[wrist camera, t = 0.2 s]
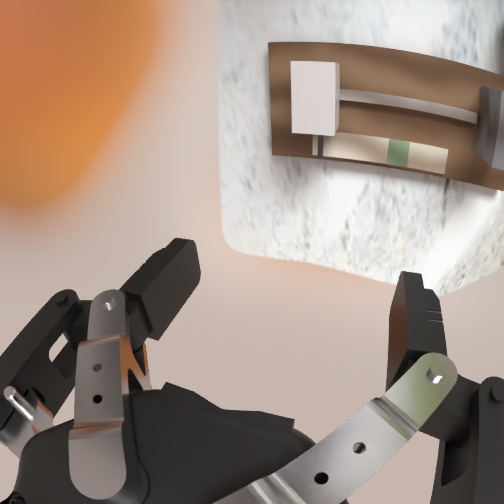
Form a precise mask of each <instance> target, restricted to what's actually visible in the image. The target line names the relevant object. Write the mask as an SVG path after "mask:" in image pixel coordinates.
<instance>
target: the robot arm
mask: <svg viewBox="0 0 504 504" xmlns="http://www.w3.org/2000/svg"><path fill="white" fill-rule="evenodd" d="M200 271H201V270H200V265H199V260H198V254H197V248H196V244H195V242H194V241H193V240H189V239H182V238H175V239H173V240H172V241H171V242H170V243H169V245H167V247H166V248H162V249H161V250H159V251H157V252H155V253H154V254H152V256H151V257H150V258H148V260H147V261H146V263H144V264H143V265H142V266H141V267H140V269H138V270H137V271H136V272H135V273H134V274H133V275H132V276H131V277H130V278H129V279H128V280H127V281H126V283H125V284H124V285H123V286H122V287H121V288H120V289H119V290H115V289H113V290H107V291H104V292H102V293H100V294H99V295H97V296H96V297H95V298H94V300H79V298H78V296H77V294H76V292H75V291H74V290H70V289H66V290H62V291H60V292H58V293H56V294H55V295H54V296H53V297H51V299H50V300H49V301H48V302H47V303H46V304H45V305H44V306H43V307H42V308H41V310H40V311H39V312H38V313H37V314H36V315H35V316H34V317H33V318H32V319H31V321H30V322H29V323H28V324H27V325H26V326H25V327H24V329H23V330H22V331H21V332H20V333H19V335H18V336H17V337H16V338H15V339H14V340H13V342H12V343H11V344H10V345H9V346H8V348H7V349H6V350H5V351H4V353H3V354H2V355H1V356H0V443H1V444H3V445H4V446H6V447H8V448H9V449H10V450H11V451H12V452H13V453H14V454H15V455H16V456H17V457H19V458H20V462H19V470H18V475H17V480H16V483H15V486H14V489H13V492H12V493H11V495H10V496H9V497H8V498H7V499H5V500H4V501H2V502H0V504H349V503H348V501H347V499H346V498H347V497H349V496H350V495H351V494H352V493H353V492H354V491H356V490H357V489H358V488H359V487H361V486H362V485H363V484H364V483H365V482H366V481H367V480H369V479H370V478H371V477H372V476H373V475H374V474H375V473H376V472H377V471H378V470H380V469H381V468H382V467H383V466H384V465H385V464H386V463H387V462H388V461H389V460H390V459H391V458H392V457H393V456H394V455H395V454H396V453H397V452H398V451H399V450H400V449H401V448H402V447H403V446H404V445H405V444H406V443H407V442H408V440H409V439H410V438H411V437H412V436H413V435H414V434H415V433H416V432H417V431H420V432H423V433H425V434H428V435H430V436H433V437H435V438H438V439H440V442H439V451H438V460H437V466H436V473H435V479H434V485H433V491H432V496H431V501H430V504H504V380H503V379H502V378H499V377H489V378H486V379H485V380H484V381H483V382H482V383H481V384H479V383H476V382H474V381H471V380H469V379H466V378H464V377H462V376H461V375H459V374H458V373H457V369H456V366H455V365H454V363H453V362H452V361H451V360H450V359H449V358H448V357H447V349H446V340H445V333H444V326H443V323H442V320H443V319H442V314H441V307H440V301H439V299H438V297H437V296H436V294H435V293H434V291H433V290H431V289H424V286H423V279H422V275H421V274H419V273H412V272H406V271H402V272H401V274H400V277H399V280H398V284H397V287H396V291H395V294H394V298H393V301H392V305H391V309H390V316H389V345H388V347H389V348H388V365H387V380H386V381H387V382H386V392H385V394H384V395H382V396H381V397H380V398H374V399H373V400H371V401H370V402H369V403H367V404H366V405H365V406H364V407H362V408H361V409H360V410H359V411H358V412H357V413H356V414H355V415H353V416H352V417H351V418H349V419H348V420H347V421H346V422H345V423H343V424H342V425H341V426H340V427H338V428H337V429H336V430H335V431H333V432H332V433H331V434H329V435H328V436H327V437H325V438H324V439H323V440H321V441H320V442H319V443H317V444H316V443H314V441H313V440H311V439H310V438H309V437H308V436H306V435H305V434H303V433H302V432H300V431H298V430H296V429H294V428H293V427H294V419H291V418H286V417H282V416H278V415H273V414H269V413H265V412H261V411H239V410H224V409H221V408H219V407H217V406H216V405H214V404H213V403H211V402H209V401H208V400H206V399H205V398H203V397H202V396H200V395H198V394H197V393H195V392H193V391H190V390H187V389H185V388H182V387H179V386H176V385H174V384H171V383H168V382H166V383H165V385H164V386H163V388H162V389H161V390H157V389H155V390H153V389H152V387H151V383H150V377H149V369H148V360H147V352H146V345H145V343H144V341H145V340H146V338H147V337H148V338H152V339H154V340H159V339H160V337H161V336H162V335H163V333H164V332H165V330H166V329H167V328H168V326H169V325H170V323H171V322H172V320H173V319H174V318H175V316H176V315H177V313H178V312H179V311H180V309H181V308H182V306H183V305H184V304H185V302H186V301H187V299H188V298H189V297H190V295H191V294H192V292H193V291H194V290H195V288H196V287H197V285H198V283H199V281H200V275H201V272H200ZM62 333H63V334H64V336H65V337H66V339H67V341H68V342H67V344H66V345H65V346H64V347H63V349H62V350H61V352H60V353H59V354H58V355H57V357H56V358H55V359H54V361H53V362H51V361H50V359H49V350H50V348H51V347H52V345H53V344H54V343H55V342H56V341H57V339H58V338H59V337H60V336H61V334H62ZM74 387H75V404H74V419H72V420H69V421H67V422H64V423H62V424H59V425H57V426H53V425H52V423H53V418H54V417H55V415H56V414H57V412H58V411H59V409H60V407H61V406H62V405H63V403H64V402H65V400H66V399H67V397H68V396H69V394H70V392H71V391H72V389H73V388H74Z"/></svg>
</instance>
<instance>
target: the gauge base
mask: <svg viewBox="0 0 504 504" xmlns="http://www.w3.org/2000/svg"><path fill="white" fill-rule="evenodd" d="M268 48H269V71H270V98H271V129H272V155H281V156H294V157H306V158H317V159H327V160H336V161H345V162H353V163H361V164H368V165H375V166H382V167H389V168H395V169H401V170H407V171H413V172H419V173H424V174H429V175H435V176H440V177H445V178H449V179H454V180H459V181H463V182H468V183H472V184H476V185H481V186H485V187H489V188H493V189H497V190H500V191H504V77H503V76H501V75H498V74H495V73H492V72H489V71H486V70H483V69H479V68H476V67H473V66H469V65H466V64H462V63H458V62H455V61H451V60H447V59H442V58H438V57H434V56H429V55H424V54H419V53H414V52H408V51H402V50H396V49H389V48H382V47H374V46H365V45H355V44H342V43H323V42H271V43H268ZM290 61H317V62H335V63H338V64H340V102H339V126H338V129H337V131H336V134H335V136H326V135H324V143H323V158H318V157H317V155H318V135H315V134H301V133H292V102H291V62H290Z"/></svg>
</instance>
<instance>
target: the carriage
mask: <svg viewBox="0 0 504 504" xmlns="http://www.w3.org/2000/svg"><path fill="white" fill-rule="evenodd" d="M290 62H291V102H292V133H301V134H315V135H318V155H317V157H318V158H323V143H324V135H326V136H335V134H336V131H337V129H338V126H339V102H340V64H338V63H335V62H317V61H290Z"/></svg>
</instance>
